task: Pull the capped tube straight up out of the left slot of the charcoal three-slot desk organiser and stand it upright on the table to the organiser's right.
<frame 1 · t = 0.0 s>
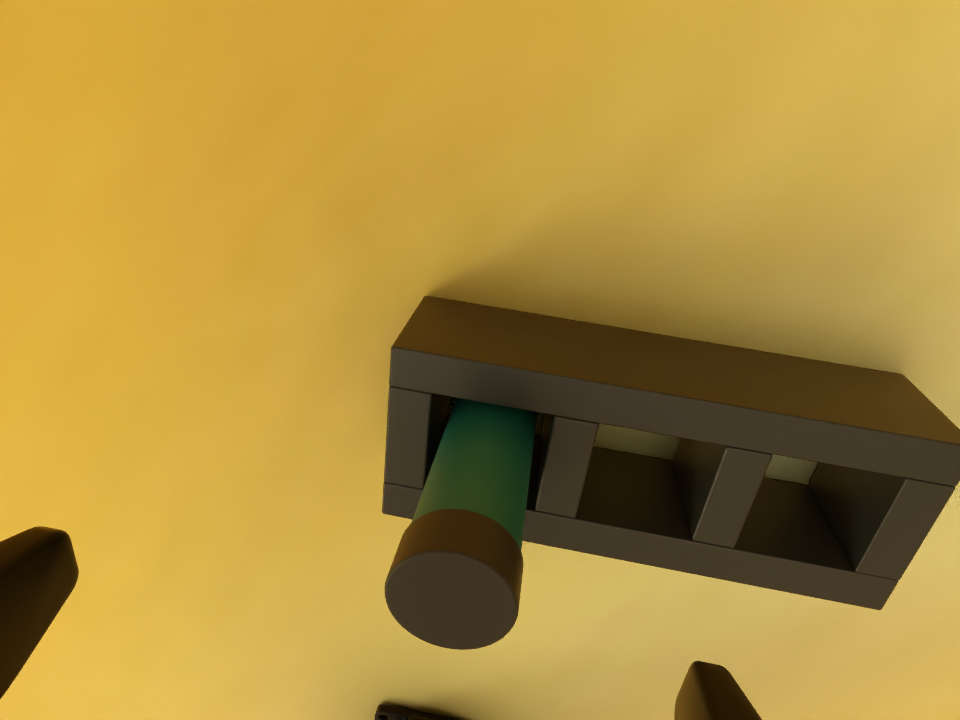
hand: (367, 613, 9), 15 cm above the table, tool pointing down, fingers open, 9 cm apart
organiser: (635, 411, 23), on the table
capped tube: (501, 387, 23), resting in organiser
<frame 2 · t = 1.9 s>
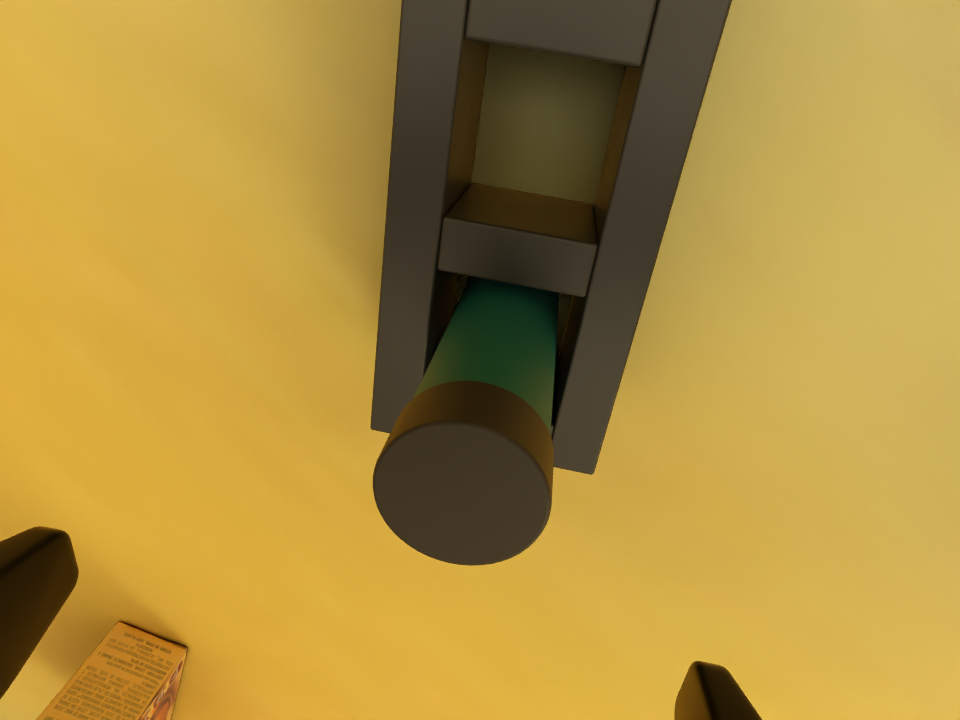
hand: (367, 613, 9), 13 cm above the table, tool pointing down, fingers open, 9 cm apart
organiser: (544, 127, 18), on the table
capped tube: (513, 293, 20), resting in organiser
candy box: (145, 676, 33), on the table
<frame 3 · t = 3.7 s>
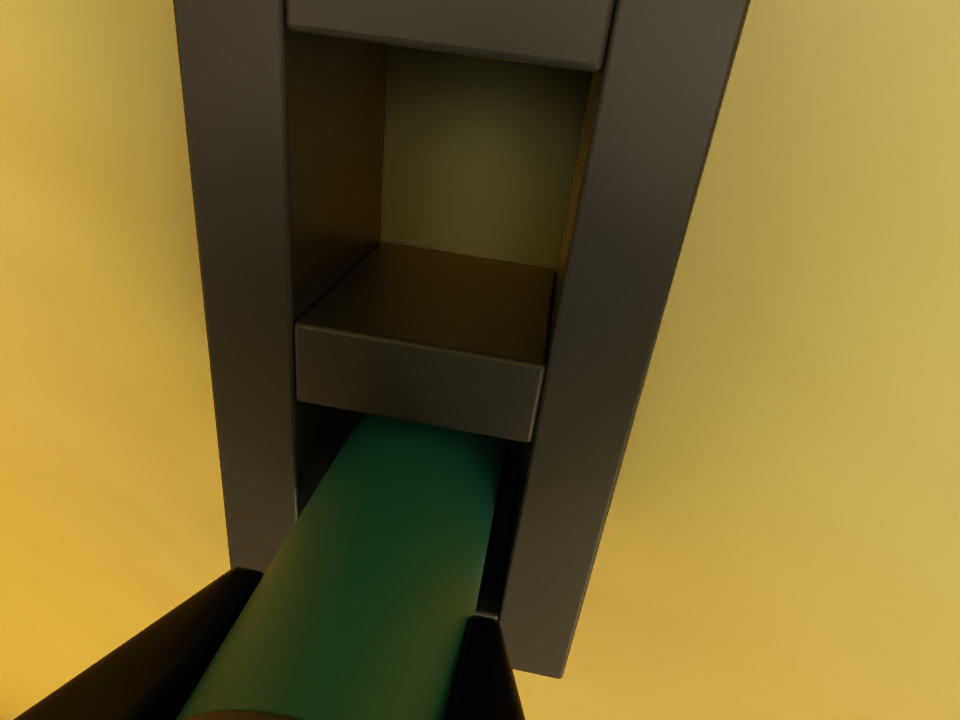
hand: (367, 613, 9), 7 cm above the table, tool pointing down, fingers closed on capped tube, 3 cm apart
organiser: (478, 161, 12), on the table
capped tube: (452, 388, 14), resting in organiser, touching gripper
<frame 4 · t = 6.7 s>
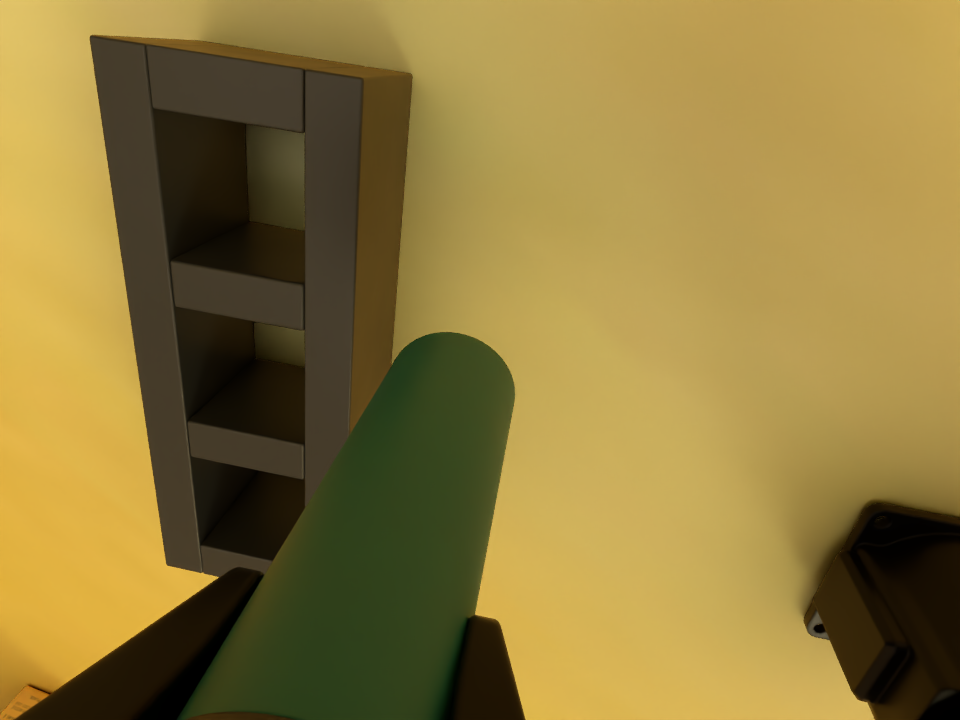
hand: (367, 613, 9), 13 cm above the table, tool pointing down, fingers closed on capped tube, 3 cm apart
organiser: (304, 320, 22), on the table
capped tube: (451, 389, 14), point 7 cm above the table, touching gripper
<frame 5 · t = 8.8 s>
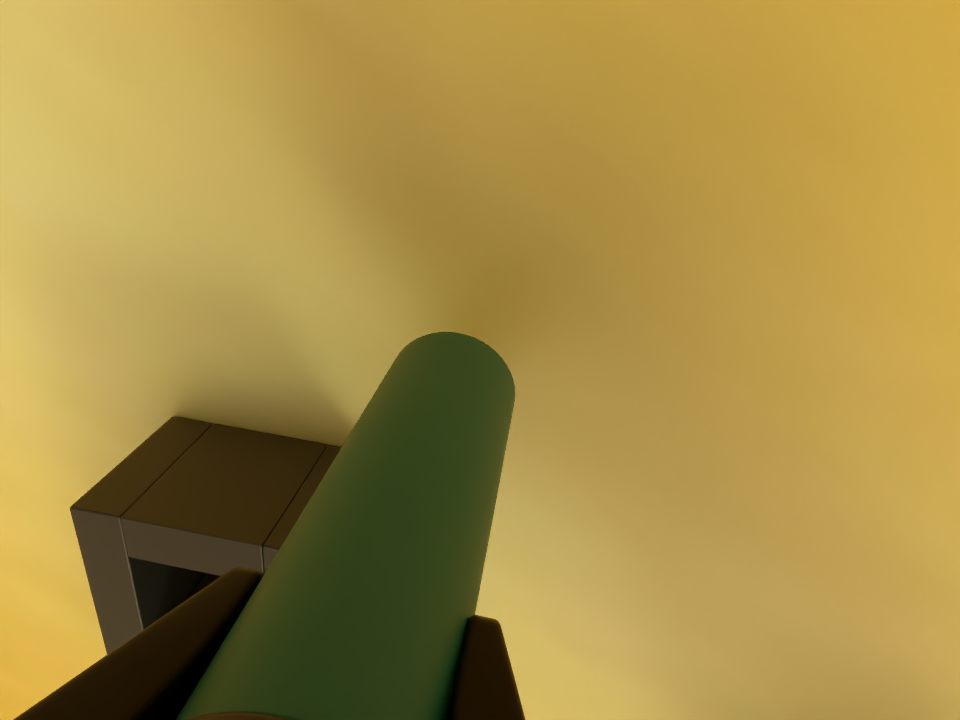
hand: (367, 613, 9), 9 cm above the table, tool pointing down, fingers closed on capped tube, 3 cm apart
organiser: (279, 616, 23), on the table
capped tube: (451, 389, 14), point 3 cm above the table, touching gripper
when the fingers open (6 cm above the table, at t = 9.9 s): capped tube stays where it is, on the table.
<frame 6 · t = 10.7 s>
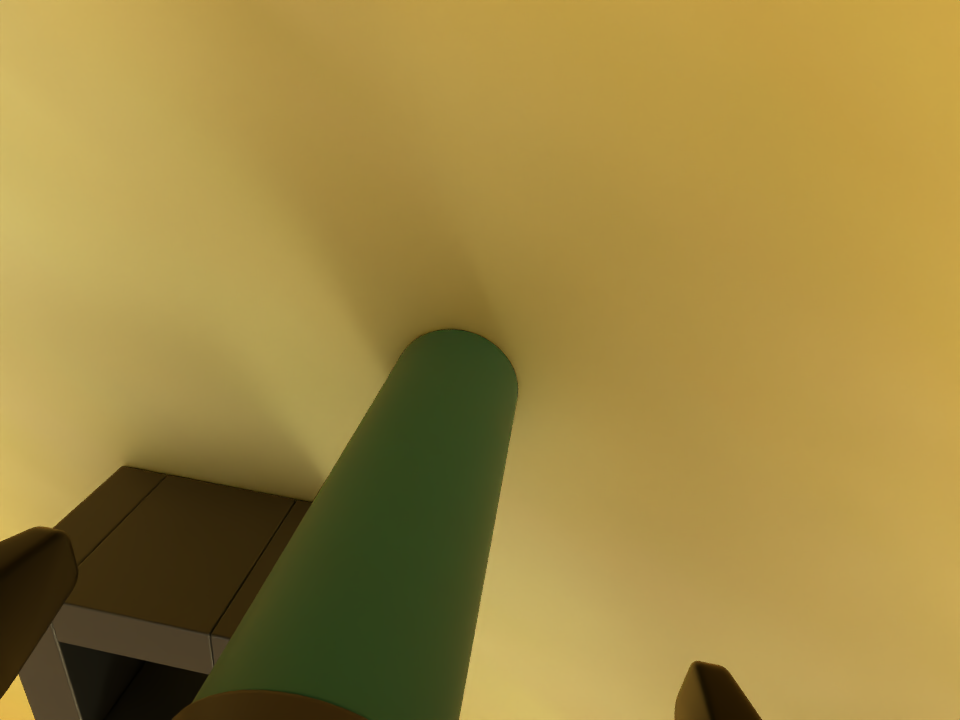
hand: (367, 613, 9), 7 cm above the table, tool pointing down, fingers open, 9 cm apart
organiser: (249, 679, 21), on the table
capped tube: (455, 385, 14), on the table
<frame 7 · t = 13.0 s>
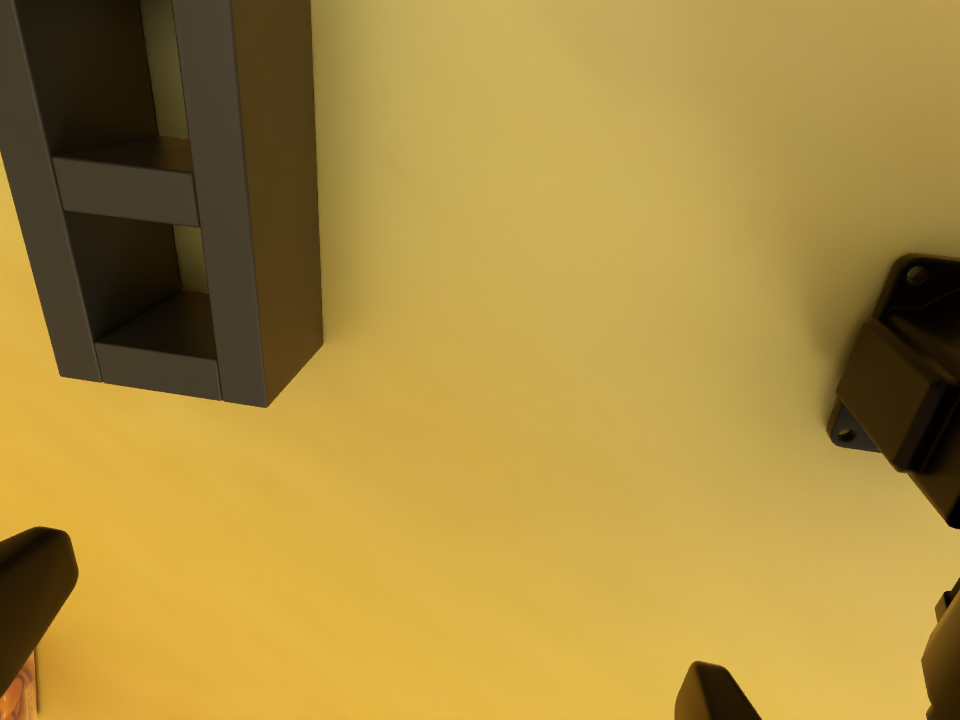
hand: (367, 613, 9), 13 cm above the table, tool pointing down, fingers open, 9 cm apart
organiser: (208, 75, 18), on the table
candy box: (6, 656, 34), on the table
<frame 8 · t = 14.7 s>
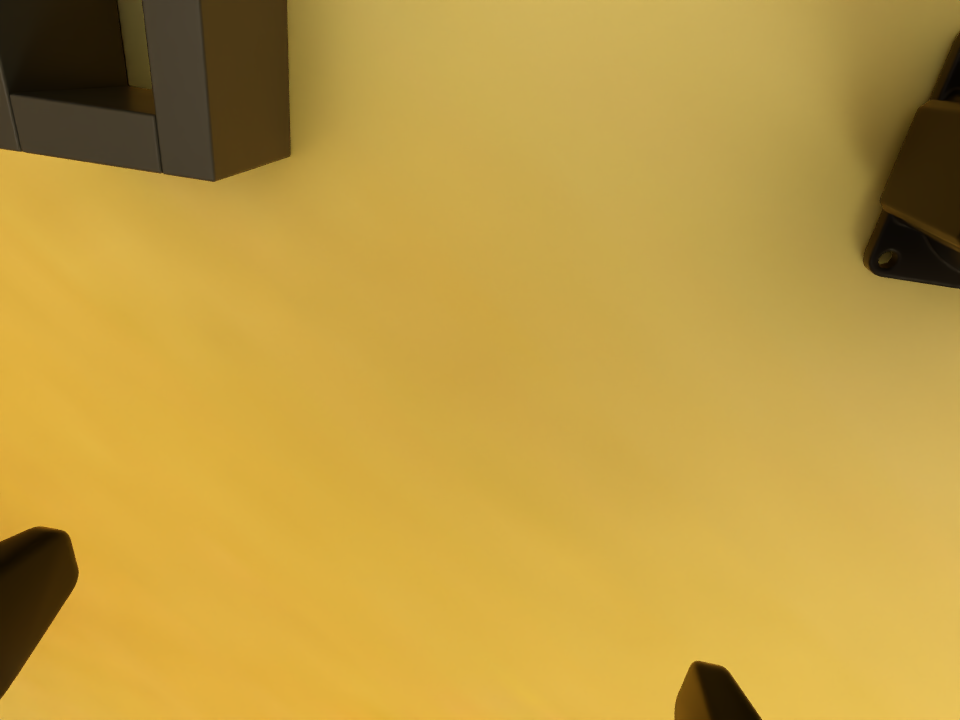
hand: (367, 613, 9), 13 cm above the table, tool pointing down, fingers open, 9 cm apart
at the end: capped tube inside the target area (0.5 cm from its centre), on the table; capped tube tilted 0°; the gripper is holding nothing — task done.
